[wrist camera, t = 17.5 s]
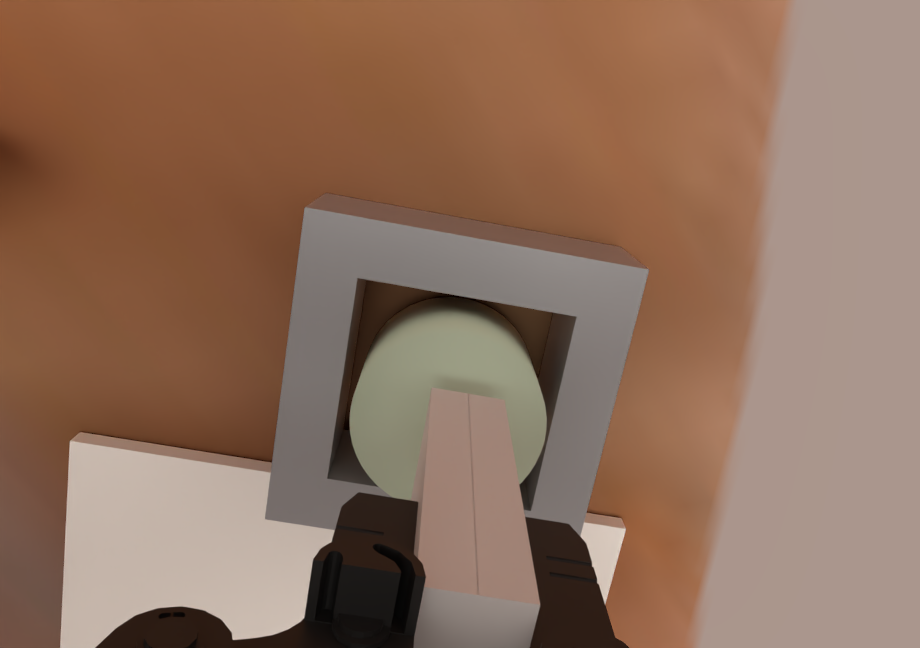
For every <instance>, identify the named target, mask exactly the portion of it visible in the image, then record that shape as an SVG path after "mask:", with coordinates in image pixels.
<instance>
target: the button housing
mask: <svg viewBox="0 0 920 648" xmlns="http://www.w3.org/2000/svg"><path fill="white" fill-rule="evenodd" d="M648 272H649V269H648V268H647V267H645V266H644V265H643V264H641V263H640V262H639V261H638V260H636V259H635V258H634V257H633V256H631V255H630V254H629V253H628V252H626V251H625V250H624V249H623V248H621V247H619V246H613V245H608V244H602V243H597V242H591V241H586V240H581V239H575V238H570V237H564V236H559V235H553V234H548V233H542V232H537V231H531V230H526V229H520V228H515V227H510V226H504V225H499V224H493V223H488V222H482V221H477V220H471V219H466V218H460V217H455V216H449V215H444V214H439V213H433V212H428V211H422V210H417V209H411V208H406V207H400V206H395V205H389V204H384V203H378V202H373V201H368V200H362V199H357V198H351V197H346V196H340V195H335V194H329V193H325V194H323V195H322V196H320V197H319V198H317V199H316V200H314V201H313V202H312V203H310V204H309V205H307V206H306V207H305V209H304V217H303V224H302V232H301V240H300V248H299V256H298V263H297V271H296V279H295V287H294V295H293V303H292V310H291V318H290V326H289V334H288V342H287V349H286V357H285V365H284V373H283V381H282V388H281V396H280V404H279V412H278V420H277V427H276V435H275V443H274V451H273V459H272V467H271V474H270V482H269V490H268V498H267V506H266V513H265V519H266V520H273V521H279V522H285V523H292V524H298V525H305V526H311V527H318V528H324V529H331V530H335V529H336V524H337V521H338V517H339V514H340V510H341V507H342V505H344V504H345V503H346V502H347V501H348V500H350V499H351V498H352V497H353V496H355V495H356V494H357V493H358V492H361V493H367V494H374V495H380V496H386V497H392V496H390V495H388V494H387V493H386V492H384V491H383V490H382V489H381V488H380V487H378V486H377V485H376V484H375V483H374V481H373V480H372V479H371V478H370V477H369V476H368V474H367V473H366V472H365V470H364V469H363V467H362V466H361V464H360V462H359V460H358V458H357V456H356V453H355V450H354V447H353V445H352V440H351V435H350V430H344V422H345V416H346V409H347V403H348V397H349V390H350V384H351V377H352V371H353V364H354V358H355V351H356V345H357V338H358V332H359V325H360V319H361V312H362V306H363V299H364V293H365V286H366V280H372V281H377V282H383V283H389V284H394V285H400V286H406V287H411V288H417V289H423V290H428V291H434V292H440V293H445V294H451V295H457V296H462V297H468V298H474V299H479V300H485V301H491V302H496V303H502V304H508V305H513V306H519V307H525V308H530V309H536V310H542V311H547V312H553V315H552V320H551V324H550V329H549V333H548V337H547V342H546V346H545V351H544V355H543V360H542V364H541V368H540V373H539V377H538V383H539V386H540V389H541V392H542V395H543V399H544V403H545V407H546V416H547V428H546V435H545V441H544V444H543V448H542V451H541V454H540V456H539V458H538V460H537V462H536V464H535V466H534V467H533V469H532V470H531V472H530V473H529V474H528V476H527V477H526V478H525V479H524V480H523V482H522V483H521V484H520V485H519V486H520V491H521V497H522V503H523V509H524V514H525V517H530V518H536V519H542V520H549V521H555V522H561V523H567V524H569V525H570V526H571V527H572V528H573V529H574V530H575V531H576V532H577V533H578V535H579V536H581V532H582V528H583V524H584V520H585V516H586V512H587V509H588V505H589V501H590V497H591V493H592V489H593V485H594V481H595V478H596V474H597V470H598V466H599V462H600V458H601V454H602V450H603V447H604V443H605V439H606V435H607V431H608V427H609V423H610V419H611V416H612V412H613V408H614V404H615V400H616V396H617V392H618V388H619V385H620V381H621V377H622V373H623V369H624V365H625V361H626V358H627V354H628V350H629V346H630V342H631V338H632V334H633V330H634V327H635V323H636V319H637V315H638V311H639V307H640V303H641V299H642V296H643V292H644V288H645V284H646V280H647V276H648ZM392 498H393V497H392Z"/></svg>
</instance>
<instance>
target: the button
mask: <svg viewBox="0 0 920 648" xmlns="http://www.w3.org/2000/svg"><path fill="white" fill-rule="evenodd" d="M432 388H438V389H444V390H450V391H456V392H462V393H468V394H473V395H479V396H485V397H491V398H497V399H503V400H505V406H506V411H507V417H508V423H509V428H510V434H511V440H512V446H513V451H514V457H515V463H516V469H517V474H518V480H519V485H520V484H521V483H522V482H523V480H524V479H525V478H526V477H527V476H528V474H529V473H530V472H531V470H532V469H533V467H534V466H535V464H536V462H537V460H538V458H539V456H540V454H541V451H542V448H543V444H544V441H545V435H546V428H547V416H546V407H545V403H544V399H543V395H542V392H541V389H540V386H539V383H538V380H537V377H536V374H535V371H534V368H533V365H532V361H531V358H530V355H529V352H528V350H527V347H526V345H525V343H524V341H523V339H522V338H521V336H520V334H519V333H518V331H517V330H516V329H515V328H514V326H513V325H512V324H511V323H510V322H509V321H508V320H507V319H506V318H505V317H504V316H502V315H501V314H499V313H498V312H497V311H495V310H493V309H492V308H490V307H488V306H486V305H484V304H481V303H479V302H476V301H473V300H469V299H464V298H456V297H440V298H433V299H428V300H424V301H421V302H418V303H415V304H413V305H411V306H408V307H407V308H405V309H403V310H402V311H400V312H398V313H397V314H396V315H395V316H393V317H392V318H391V319H390V320H389V321H388V322H387V323H386V324H385V325H384V326H383V327H382V328H381V330H380V331H379V332H378V334H377V335H376V337H375V338H374V340H373V342H372V344H371V346H370V349H369V351H368V354H367V357H366V360H365V363H364V366H363V369H362V372H361V375H360V378H359V381H358V384H357V387H356V390H355V393H354V396H353V400H352V404H351V409H350V420H349V422H350V435H351V440H352V445H353V447H354V450H355V453H356V456H357V458H358V460H359V462H360V464H361V466H362V467H363V469H364V470H365V472H366V473H367V474H368V476H369V477H370V478H371V479H372V480H373V481H374V483H375V484H376V485H377V486H378V487H380V488H381V489H382V490H383V491H384V492H386V493H387V494H388V495H390V496H392V497H393V498H398V499H405V500H411V496H412V491H413V485H414V480H415V475H416V469H417V464H418V459H419V453H420V448H421V442H422V437H423V432H424V426H425V421H426V416H427V410H428V405H429V399H430V394H431V389H432Z"/></svg>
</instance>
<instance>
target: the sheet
mask: <svg viewBox="0 0 920 648" xmlns="http://www.w3.org/2000/svg"><path fill="white" fill-rule="evenodd" d="M271 467H272V462H265V461H259V460H253V459H246V458H240V457H234V456H228V455H221V454H215V453H209V452H203V451H196V450H190V449H184V448H177V447H171V446H165V445H159V444H152V443H146V442H140V441H133V440H127V439H121V438H115V437H108V436H102V435H96V434H90V433H83V432H79V433H78V434H77V435H76V436H75V437H74V438H73V439H71V440H70V449H69V471H68V492H67V513H66V534H65V555H64V576H63V598H62V619H61V640H60V648H95V647H96V646H97V645H99V644H100V643H101V642H102V641H103V640H104V639H105V638H106V637H107V636H108V635H109V634H110V633H111V632H113V631H114V630H115V629H116V628H117V627H118V626H120V625H121V624H123V623H124V622H126V621H128V620H129V619H131V618H132V617H134V616H135V615H138V614H141V613H144V612H147V611H150V610H153V609H157V608H165V607H179V606H183V607H189V608H194V609H200V610H204V611H206V612H208V613H210V614H212V615H214V616H216V617H218V618H220V619H221V620H222V621H223V622H224V623H225V625H226V626H227V627H228V628H229V630H230V631H231V632H232V639H233V640H239V639H250V638H258V637H264V636H270V635H274V634H277V633H280V632H282V631H285V630H288V629H290V628H291V627H293V626H294V625H296V624H298V623H299V622H301V621H302V620H303V619H304V616H305V610H306V603H307V597H308V590H309V583H310V577H311V570H312V563H313V559H314V557H315V556H316V555H317V553H318V552H319V550H320V549H321V548H322V547H324V546H325V545H327V544H329V543H331V542H332V538H333V535H334V531H335V530H331V529H324V528H318V527H311V526H305V525H298V524H292V523H285V522H279V521H273V520H266V519H265V513H266V506H267V498H268V490H269V482H270V474H271ZM625 531H626V528H625V525H624V523H623V521H622V518H617V517H610V516H604V515H598V514H592V513H586V516H585V520H584V524H583V528H582V532H581V536H580V537H581V538H582V539H583V540H584V541H585V542H586V544H587V547H588V551H589V554H590V557H591V560H592V567H594V570H595V573H596V577H597V584H599V587H600V590H601V593H602V596H603V600H604V603H606V600H607V596H608V593H609V589H610V585H611V582H612V578H613V574H614V571H615V567H616V564H617V560H618V556H619V553H620V549H621V545H622V542H623V538H624V535H625Z"/></svg>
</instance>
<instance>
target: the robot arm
mask: <svg viewBox="0 0 920 648" xmlns="http://www.w3.org/2000/svg"><path fill="white" fill-rule="evenodd" d="M95 648H629V647H628V646H627V645H626V644H625V643H624V642H622V641H620V640H618V639H616V638H615V636H614V632H613V629H612V626H611V623H610V619H609V616H608V613H607V609H606V606H605V603H604V600H603V596H602V593H601V590H600V587H599V584H597V577H596V573H595V570H594V567H592V560H591V557H590V554H589V551H588V547H587V544H586V542H585V541H584V540H583V539H582V538H581V537H580V536H579V535H578V533H577V532H576V531H575V530H574V529H573V528H572V527H571V526H570V525H569V524H567V523H561V522H555V521H549V520H542V519H536V518H530V517H525V514H524V509H523V503H522V497H521V491H520V486H519V480H518V474H517V469H516V463H515V457H514V451H513V446H512V440H511V434H510V428H509V423H508V417H507V411H506V406H505V400H503V399H497V398H491V397H485V396H479V395H473V394H468V393H462V392H456V391H450V390H444V389H438V388H432V389H431V394H430V399H429V405H428V410H427V416H426V421H425V426H424V432H423V437H422V442H421V448H420V453H419V459H418V464H417V469H416V475H415V480H414V485H413V491H412V496H411V500H405V499H398V498H392V497H386V496H380V495H374V494H367V493H361V492H358V493H357V494H356V495H355V496H353V497H352V498H351V499H350V500H348V501H347V502H346V503H345V504H344V505H342V507H341V510H340V514H339V517H338V521H337V524H336V529H335V531H334V535H333V538H332V542H331V543H329V544H327V545H325V546H324V547H322V548H321V549H320V550H319V552H318V553H317V555H316V556H315V557H314V559H313V563H312V570H311V577H310V583H309V590H308V597H307V603H306V610H305V616H304V619H303V620H302V621H301V622H299V623H298V624H296V625H294V626H293V627H291V628H290V629H288V630H285V631H282V632H280V633H277V634H274V635H270V636H264V637H258V638H250V639H239V640H233V639H232V632H231V631H230V630H229V628H228V627H227V626H226V625H225V623H224V622H223V621H222V620H221V619H220V618H218V617H216V616H214V615H212V614H210V613H208V612H206V611H204V610H200V609H194V608H189V607H183V606H179V607H165V608H157V609H153V610H150V611H147V612H144V613H141V614H138V615H135V616H134V617H132V618H131V619H129V620H128V621H126V622H124V623H123V624H121V625H120V626H118V627H117V628H116V629H115V630H114V631H113V632H111V633H110V634H109V635H108V636H107V637H106V638H105V639H104V640H103V641H102V642H101V643H100V644H99V645H97V646H96V647H95Z"/></svg>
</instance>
